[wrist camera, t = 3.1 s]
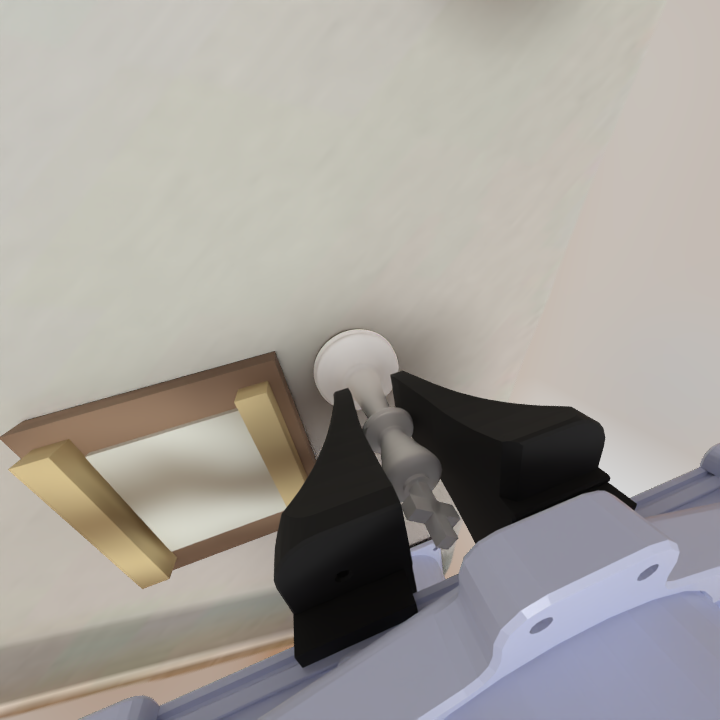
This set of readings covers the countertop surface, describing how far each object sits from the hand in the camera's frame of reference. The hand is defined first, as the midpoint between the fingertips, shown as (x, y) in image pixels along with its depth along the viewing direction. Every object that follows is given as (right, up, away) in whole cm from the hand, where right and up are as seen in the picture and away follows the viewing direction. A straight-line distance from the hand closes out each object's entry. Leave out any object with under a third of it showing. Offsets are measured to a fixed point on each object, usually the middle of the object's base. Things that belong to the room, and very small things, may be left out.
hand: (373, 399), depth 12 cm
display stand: (-10, -5, +4) cm, 11 cm away
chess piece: (-1, +1, +3) cm, 4 cm away
